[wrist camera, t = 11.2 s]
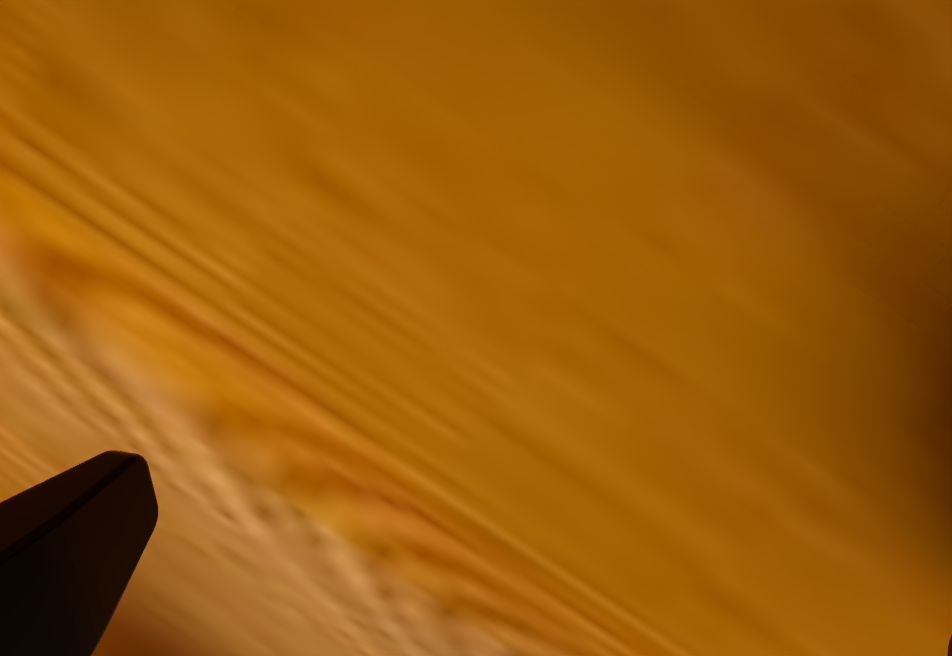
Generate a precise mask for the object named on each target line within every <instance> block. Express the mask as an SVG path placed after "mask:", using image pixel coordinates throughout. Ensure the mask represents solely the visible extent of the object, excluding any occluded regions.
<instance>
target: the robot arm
mask: <svg viewBox="0 0 952 656" xmlns="http://www.w3.org/2000/svg"><path fill="white" fill-rule="evenodd" d="M157 518H158V504H157V500H156V496H155V492H154V488H153V484H152V479H151V475H150V471H149V467H148V464H147V461H146V460H145V459H144V458H143V456H141V455H139V454H135V453H128V452H122V451H106V452H104V453H101V454H99V455H97V456H95V457H93V458H91V459H89V460H87V461H85V462H83V463H81V464H79V465H77V466H75V467H73V468H71V469H69V470H66V471H64V472H62V473H60V474H58V475H56V476H54V477H52V478H50V479H48V480H46V481H44V482H42V483H40V484H38V485H36V486H34V487H32V488H29V489H27V490H25V491H23V492H21V493H19V494H17V495H15V496H13V497H11V498H9V499H7V500H5V501H3V502H1V503H0V656H91V655H92V653H93V651H94V650H95V648H96V646H97V644H98V643H99V641H100V639H101V637H102V635H103V633H104V631H105V629H106V628H107V626H108V624H109V622H110V620H111V618H112V616H113V613H114V611H115V609H116V607H117V605H118V603H119V601H120V599H121V597H122V595H123V593H124V591H125V589H126V586H127V584H128V582H129V580H130V578H131V576H132V574H133V572H134V570H135V568H136V566H137V564H138V562H139V560H140V557H141V555H142V553H143V551H144V549H145V547H146V545H147V543H148V541H149V539H150V537H151V535H152V533H153V531H154V528H155V526H156V522H157ZM948 656H952V635H951V638H950V641H949V646H948Z"/></svg>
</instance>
